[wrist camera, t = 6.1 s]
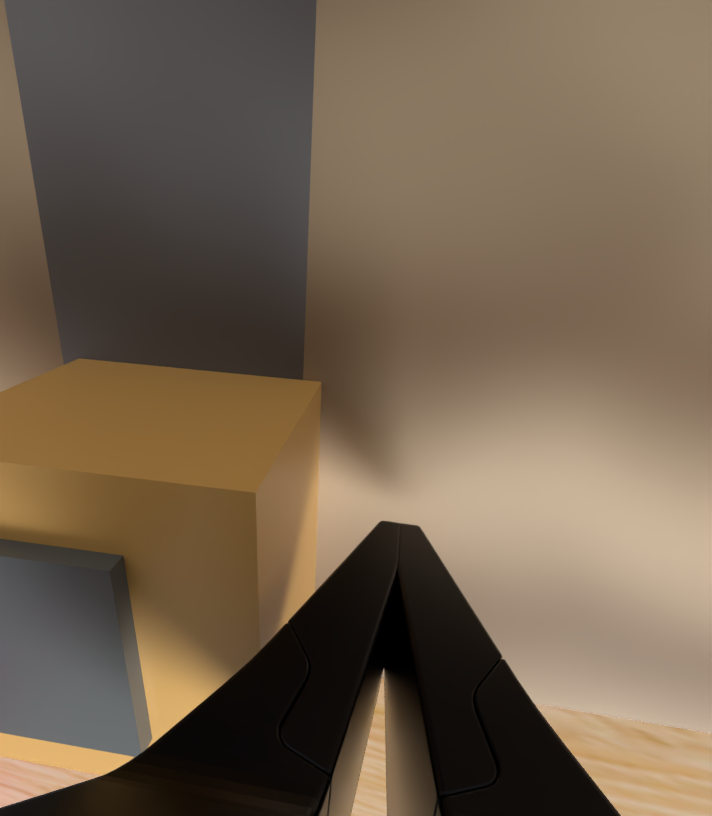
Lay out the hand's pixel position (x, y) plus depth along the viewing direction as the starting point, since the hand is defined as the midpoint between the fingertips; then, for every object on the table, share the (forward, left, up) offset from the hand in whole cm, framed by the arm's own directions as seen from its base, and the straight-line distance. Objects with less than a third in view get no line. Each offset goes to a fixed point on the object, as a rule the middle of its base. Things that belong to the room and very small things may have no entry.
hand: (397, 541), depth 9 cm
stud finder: (0, +4, -1) cm, 4 cm away
